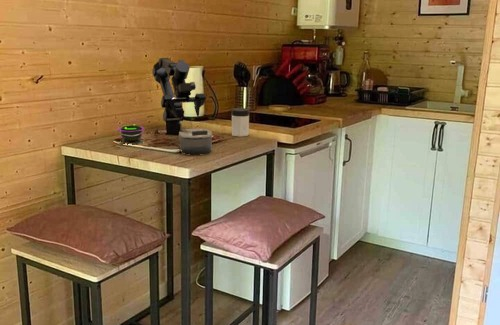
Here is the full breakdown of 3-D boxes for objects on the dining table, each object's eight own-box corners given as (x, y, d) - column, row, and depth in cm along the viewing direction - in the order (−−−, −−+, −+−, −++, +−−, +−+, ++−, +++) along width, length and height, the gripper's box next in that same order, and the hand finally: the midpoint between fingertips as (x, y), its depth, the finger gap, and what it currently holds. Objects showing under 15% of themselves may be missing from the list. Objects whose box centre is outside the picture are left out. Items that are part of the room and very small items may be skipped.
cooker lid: (175, 132, 206) (175, 126, 205) (205, 130, 211) (205, 124, 210) (184, 139, 194) (184, 133, 194) (216, 137, 200) (216, 130, 199)
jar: (236, 137, 230) (236, 111, 226) (227, 134, 236) (227, 108, 233) (252, 135, 234) (253, 110, 231) (243, 132, 241) (243, 107, 238)
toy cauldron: (114, 150, 205) (112, 123, 202) (113, 141, 218) (111, 116, 215) (151, 148, 209) (150, 122, 206) (148, 140, 223) (147, 115, 220)
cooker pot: (175, 148, 209) (174, 132, 207) (204, 145, 214) (204, 130, 212) (185, 156, 196) (184, 140, 195) (216, 153, 202) (216, 137, 200)
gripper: (161, 75, 207) (169, 106, 200) (204, 74, 214) (213, 104, 207) (157, 92, 216) (164, 122, 209) (199, 90, 223) (207, 119, 217)
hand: (187, 116), depth 210 cm, fingers open, 9 cm apart
